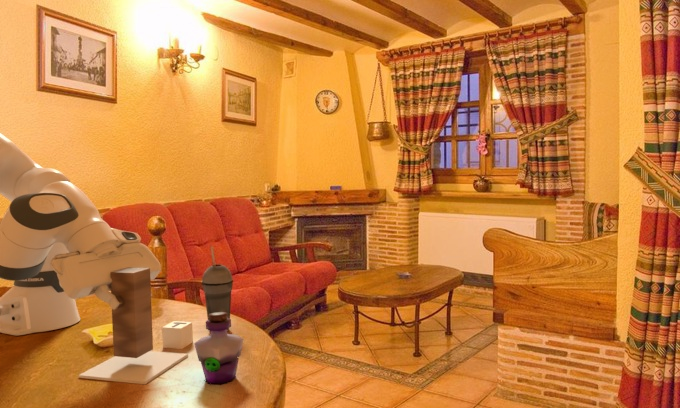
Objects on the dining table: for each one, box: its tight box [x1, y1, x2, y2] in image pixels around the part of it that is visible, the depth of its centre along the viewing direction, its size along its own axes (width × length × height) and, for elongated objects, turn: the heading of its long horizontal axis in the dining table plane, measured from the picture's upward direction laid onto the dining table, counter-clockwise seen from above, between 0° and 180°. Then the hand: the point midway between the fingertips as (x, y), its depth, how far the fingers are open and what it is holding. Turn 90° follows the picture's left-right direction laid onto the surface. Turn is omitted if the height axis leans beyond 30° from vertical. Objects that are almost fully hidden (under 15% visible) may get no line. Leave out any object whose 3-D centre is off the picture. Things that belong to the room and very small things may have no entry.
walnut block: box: [110, 267, 154, 358], centre depth 98 cm, size 5×5×16 cm
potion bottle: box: [193, 312, 244, 386], centre depth 92 cm, size 9×9×12 cm
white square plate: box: [78, 350, 189, 385], centre depth 99 cm, size 14×14×1 cm
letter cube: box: [161, 320, 194, 350], centre depth 111 cm, size 4×4×5 cm
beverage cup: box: [201, 245, 234, 331], centre depth 120 cm, size 7×7×20 cm
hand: (134, 302), depth 98 cm, fingers closed on walnut block, 6 cm apart
